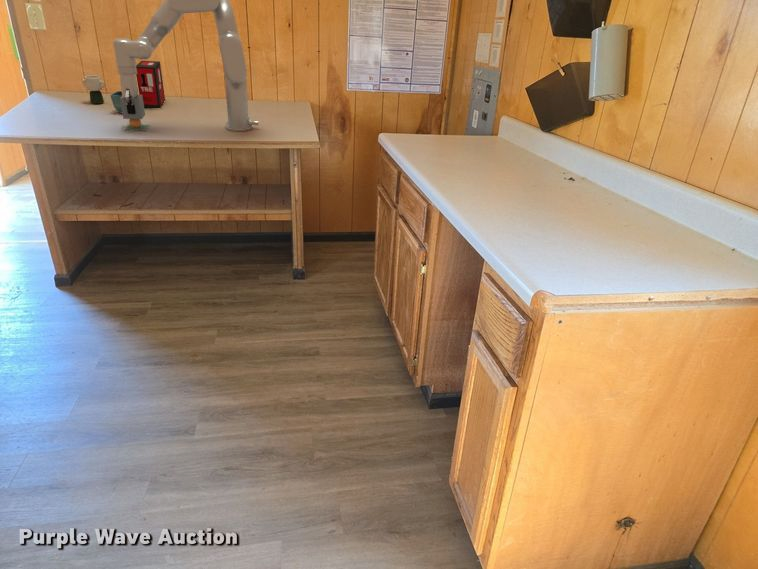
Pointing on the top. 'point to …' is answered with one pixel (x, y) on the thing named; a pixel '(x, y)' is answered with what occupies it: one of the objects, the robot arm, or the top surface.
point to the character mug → (94, 88)
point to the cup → (138, 108)
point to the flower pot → (117, 100)
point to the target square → (142, 127)
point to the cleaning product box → (150, 83)
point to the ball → (135, 123)
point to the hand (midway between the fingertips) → (133, 111)
